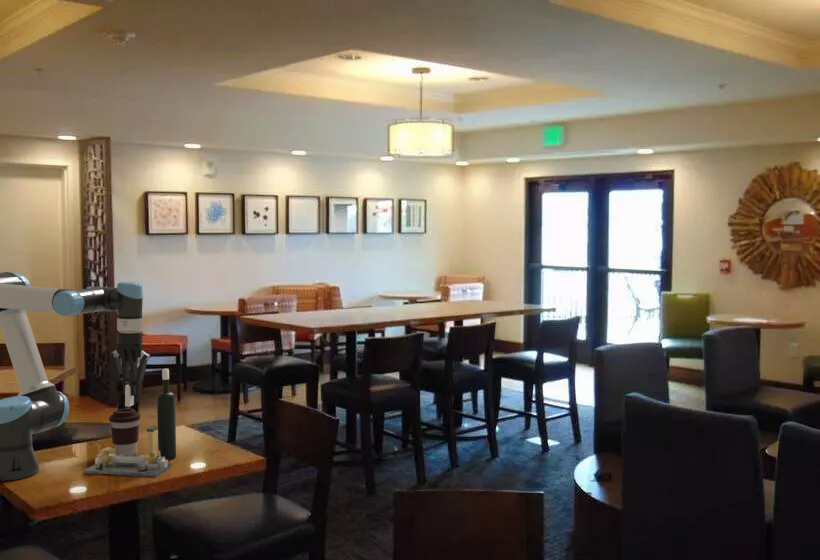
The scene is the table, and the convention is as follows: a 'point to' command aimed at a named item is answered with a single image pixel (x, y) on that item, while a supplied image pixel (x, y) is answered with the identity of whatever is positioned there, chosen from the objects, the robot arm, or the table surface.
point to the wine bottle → (166, 420)
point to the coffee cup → (125, 431)
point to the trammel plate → (126, 464)
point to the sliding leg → (151, 447)
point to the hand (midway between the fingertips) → (129, 405)
